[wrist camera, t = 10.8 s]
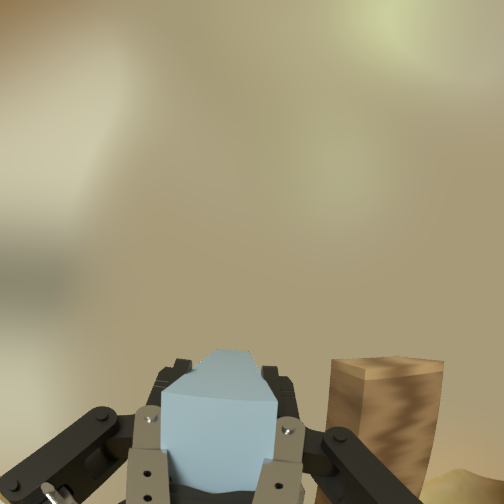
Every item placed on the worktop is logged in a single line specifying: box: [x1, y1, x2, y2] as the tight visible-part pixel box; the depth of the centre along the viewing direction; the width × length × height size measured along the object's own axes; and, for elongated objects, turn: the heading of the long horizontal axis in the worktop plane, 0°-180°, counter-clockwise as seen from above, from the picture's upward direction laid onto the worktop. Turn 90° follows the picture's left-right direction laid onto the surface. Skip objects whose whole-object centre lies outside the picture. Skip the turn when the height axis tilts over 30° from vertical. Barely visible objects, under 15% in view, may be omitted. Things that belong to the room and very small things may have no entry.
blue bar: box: [161, 349, 278, 493], centre depth 19 cm, size 4×24×4 cm, turn 3°
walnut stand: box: [315, 356, 444, 504], centre depth 24 cm, size 9×10×32 cm
